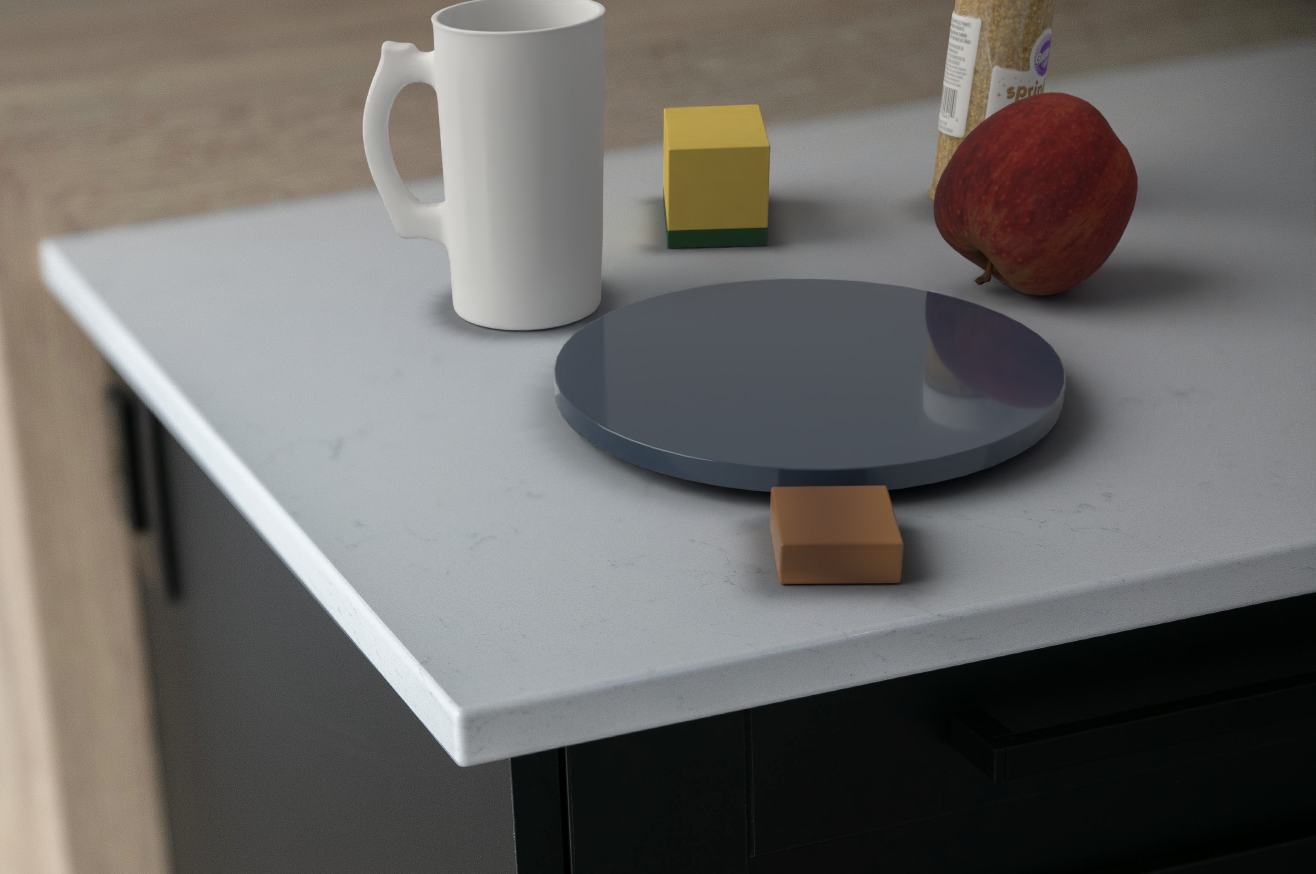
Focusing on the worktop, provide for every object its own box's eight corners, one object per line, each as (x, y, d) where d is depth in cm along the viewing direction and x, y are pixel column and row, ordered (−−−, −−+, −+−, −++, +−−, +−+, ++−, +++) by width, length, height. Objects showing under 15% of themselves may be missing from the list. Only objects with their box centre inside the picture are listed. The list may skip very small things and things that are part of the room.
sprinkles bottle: (1024, 219, 83) (1073, -102, 77) (919, 210, 85) (960, -106, 79) (1031, 197, 87) (1078, -110, 81) (931, 189, 88) (970, -114, 83)
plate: (1008, 308, 75) (1012, 272, 74) (1115, 507, 59) (1121, 464, 58) (559, 319, 77) (558, 284, 76) (548, 514, 61) (547, 473, 61)
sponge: (663, 201, 90) (663, 107, 87) (755, 198, 89) (758, 104, 87) (667, 248, 84) (668, 149, 81) (766, 245, 83) (770, 145, 81)
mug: (621, 281, 80) (619, -6, 74) (591, 337, 75) (587, 32, 69) (397, 273, 83) (379, -5, 77) (353, 327, 77) (329, 32, 72)
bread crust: (884, 524, 59) (887, 484, 59) (900, 584, 56) (904, 542, 55) (769, 525, 60) (770, 485, 59) (778, 585, 56) (780, 544, 56)
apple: (1143, 321, 73) (1173, 116, 69) (938, 324, 74) (955, 123, 70) (1104, 258, 79) (1129, 67, 75) (916, 262, 80) (931, 74, 76)
